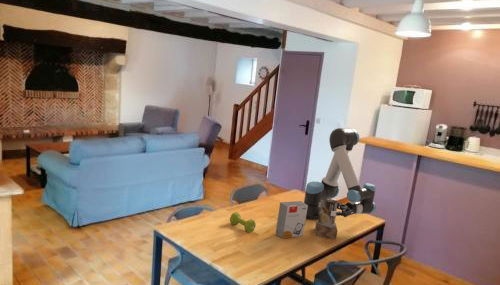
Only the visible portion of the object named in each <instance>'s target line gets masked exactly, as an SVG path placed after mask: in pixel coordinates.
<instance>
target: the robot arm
mask: <svg viewBox="0 0 500 285" xmlns="http://www.w3.org/2000/svg"><path fill="white" fill-rule="evenodd" d="M329 134H330V135H329V142H328V143H329V147H330V149H331V152H333V156H332V158H331V162H330V164H329V167H328V170H327V172H326V175H325V176H324V177H323V178H322V179H321V181H313V180H312V181H309V182H307V184H306V186H305V193H304V200H303V203H305V204H307V205H308V208H307V214H306V220H307V219H308V220H312V221H313V220H314V221H316V220H319V213H320V206H321V200H322V199H323V198H324V197H325V198H328V199H332V200H333V198H336V197H337V196H338V195H339V192H340V189H339V182H338V180H339V178H340V175H342V178H343V180H344V182H345V185H346V187H347V192H346V198H347V200H348V201H347V202H346V203H345V204H343V202H339V201H338V204H337V211H331V215H330V216H336V217H337V216H341V217H343V218H347V217H349V216H350V215H351V216H352V215H361V214H362V215H363V214H364V215H365V214H367V215H368V214H374V213H375V212H376V210H377V207H376V203H375V202H374V199H375V195H376V189H377V187H376V185H375V184H372V183H370V182H366V183H363V186H362V187H361V185H360V183H359V180H358V177H357V175H356V171H355V170H354V167H353V164H352V161H351V159H350V156H349V152H351V151H352V150H353V149H354V146H356V145H358V143H359V141H360V134H359V132H358V130H356V129H355V128H350V127H346V128H345V127H343V128H339V127H337V128H335V129H334V130H332V131H331V133H329Z"/></svg>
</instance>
